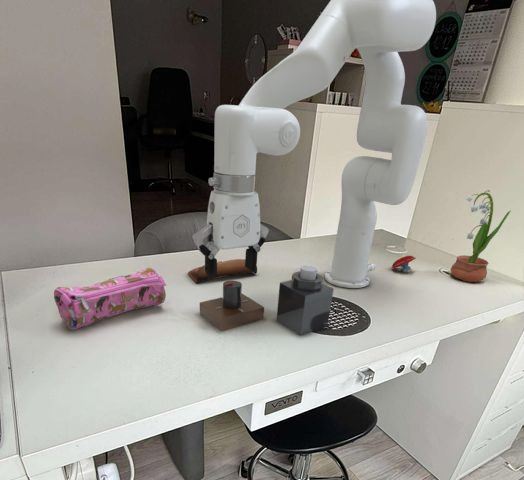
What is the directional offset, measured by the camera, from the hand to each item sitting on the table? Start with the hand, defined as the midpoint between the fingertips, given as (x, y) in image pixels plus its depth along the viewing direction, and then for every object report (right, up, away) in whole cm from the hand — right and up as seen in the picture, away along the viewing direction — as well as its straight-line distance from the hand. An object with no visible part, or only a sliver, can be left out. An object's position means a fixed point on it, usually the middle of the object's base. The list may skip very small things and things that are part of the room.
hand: (231, 272), depth 81 cm
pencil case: (-25, -9, +3) cm, 27 cm away
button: (+50, +8, +40) cm, 64 cm away
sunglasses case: (-5, +5, +27) cm, 28 cm away
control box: (0, -9, +6) cm, 10 cm away
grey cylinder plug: (+16, -1, -1) cm, 16 cm away
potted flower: (+68, +6, +38) cm, 78 cm away
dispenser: (+15, -10, +5) cm, 19 cm away
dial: (0, -6, +4) cm, 7 cm away
